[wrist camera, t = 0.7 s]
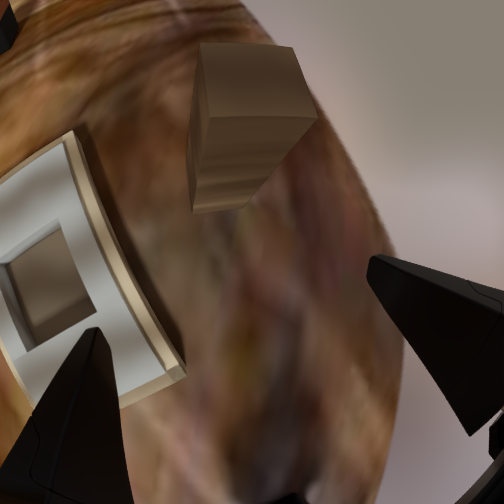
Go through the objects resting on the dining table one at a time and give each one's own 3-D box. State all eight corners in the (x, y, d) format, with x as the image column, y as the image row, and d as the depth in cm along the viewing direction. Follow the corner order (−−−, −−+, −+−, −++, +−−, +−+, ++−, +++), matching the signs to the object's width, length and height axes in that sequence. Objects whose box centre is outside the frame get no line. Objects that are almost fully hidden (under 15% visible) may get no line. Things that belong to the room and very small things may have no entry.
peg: (243, 207, 22) (318, 117, 9) (192, 214, 21) (210, 117, 8) (234, 161, 22) (292, 47, 10) (185, 166, 21) (200, 42, 9)
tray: (186, 366, 19) (187, 378, 16) (63, 424, 16) (51, 439, 13) (81, 144, 19) (70, 126, 16) (-24, 218, 16) (-42, 211, 13)
